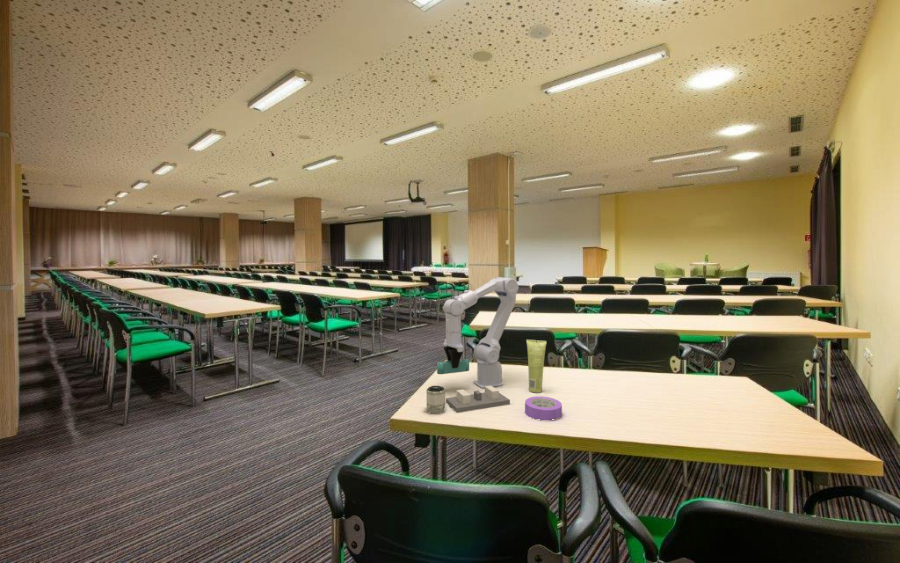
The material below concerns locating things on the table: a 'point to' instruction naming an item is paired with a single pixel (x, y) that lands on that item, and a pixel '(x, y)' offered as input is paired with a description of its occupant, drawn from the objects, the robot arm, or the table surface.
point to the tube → (535, 364)
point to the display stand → (477, 400)
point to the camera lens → (435, 399)
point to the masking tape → (543, 408)
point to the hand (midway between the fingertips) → (453, 366)
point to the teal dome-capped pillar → (446, 367)
